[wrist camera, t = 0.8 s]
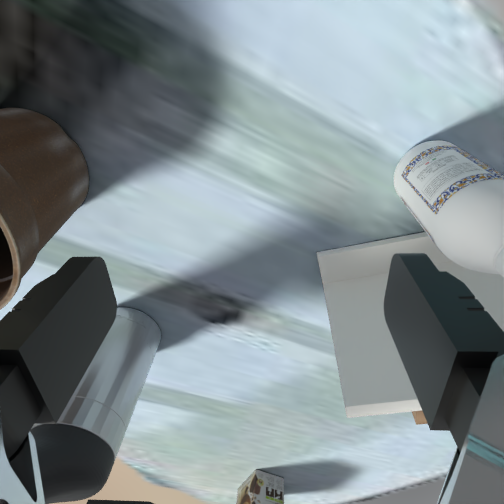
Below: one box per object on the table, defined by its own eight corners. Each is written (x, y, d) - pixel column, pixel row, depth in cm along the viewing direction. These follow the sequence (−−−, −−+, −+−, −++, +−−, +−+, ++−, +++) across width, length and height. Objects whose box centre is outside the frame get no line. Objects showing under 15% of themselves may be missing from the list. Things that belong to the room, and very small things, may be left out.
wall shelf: (490, 301, 45) (602, 440, 29) (331, 325, 48) (356, 460, 33) (498, 218, 39) (642, 336, 24) (316, 252, 43) (338, 374, 27)
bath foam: (456, 200, 38) (600, 333, 21) (389, 206, 39) (476, 339, 22) (468, 134, 35) (652, 230, 18) (394, 142, 36) (502, 242, 18)
